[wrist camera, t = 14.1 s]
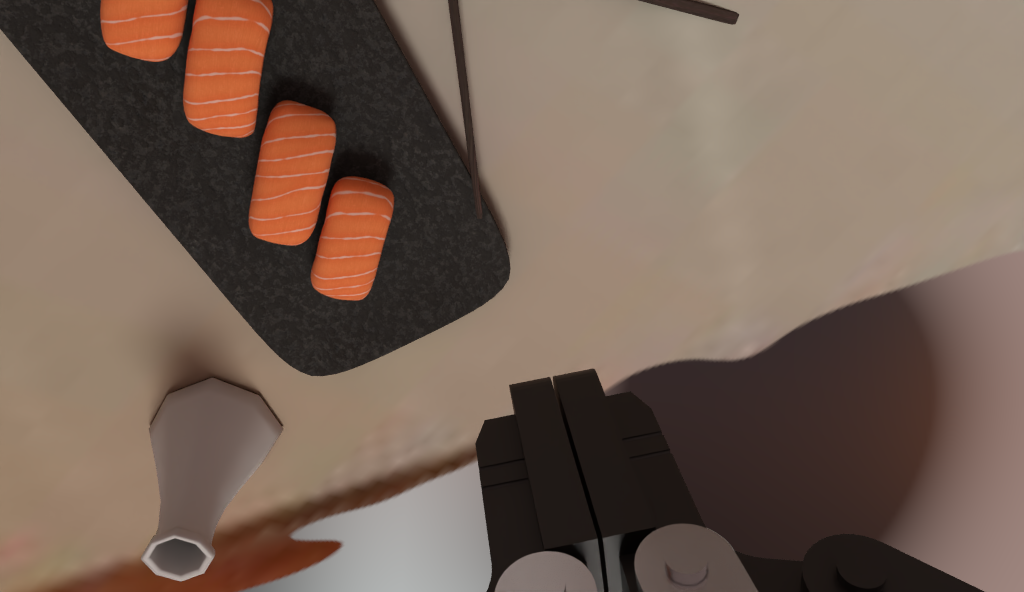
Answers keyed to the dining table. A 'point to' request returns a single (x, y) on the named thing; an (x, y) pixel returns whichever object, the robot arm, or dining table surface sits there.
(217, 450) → the flask
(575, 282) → the dining table surface
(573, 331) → the dining table surface
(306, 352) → the sushi plate
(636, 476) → the robot arm
